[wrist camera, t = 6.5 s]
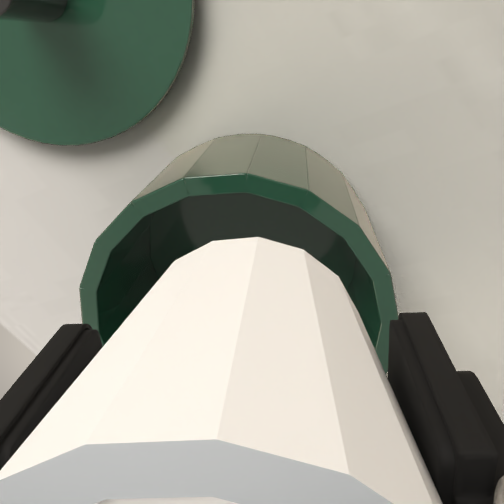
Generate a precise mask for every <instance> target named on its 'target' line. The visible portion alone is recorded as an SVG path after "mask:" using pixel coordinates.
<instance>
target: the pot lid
mask: <svg viewBox="0 0 504 504" xmlns="http://www.w3.org/2000/svg"><path fill="white" fill-rule="evenodd" d="M193 20H194V0H0V127H1V128H3V129H5V130H7V131H9V132H11V133H13V134H16V135H18V136H21V137H24V138H26V139H29V140H33V141H37V142H41V143H46V144H54V145H83V144H89V143H96V142H99V141H102V140H105V139H109V138H112V137H114V136H116V135H118V134H120V133H122V132H124V131H126V130H128V129H130V128H131V127H133V126H134V125H136V124H137V123H139V122H140V121H142V120H143V119H144V118H145V117H146V116H147V115H149V114H150V113H151V112H152V111H153V110H154V109H155V108H156V107H157V106H158V104H159V103H160V102H161V101H162V100H163V98H164V97H165V96H166V95H167V93H168V92H169V90H170V88H171V87H172V85H173V83H174V82H175V80H176V78H177V76H178V74H179V72H180V69H181V67H182V65H183V62H184V60H185V57H186V53H187V50H188V46H189V43H190V38H191V32H192V26H193Z"/></svg>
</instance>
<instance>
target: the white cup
mask: <svg viewBox="0 0 504 504" xmlns="http://www.w3.org/2000/svg"><path fill="white" fill-rule="evenodd" d="M0 504H443V503H442V501H441V499H440V496H439V494H438V492H437V490H436V487H435V485H434V483H433V480H432V478H431V476H430V474H429V471H428V469H427V467H426V465H425V462H424V460H423V458H422V456H421V453H420V451H419V449H418V446H417V444H416V442H415V440H414V437H413V435H412V433H411V431H410V428H409V426H408V424H407V422H406V419H405V417H404V415H403V412H402V410H401V408H400V406H399V403H398V401H397V399H396V397H395V394H394V392H393V390H392V387H391V385H390V383H389V381H388V378H387V376H386V374H385V372H384V369H383V367H382V365H381V363H380V360H379V358H378V356H377V353H376V351H375V349H374V347H373V344H372V342H371V340H370V338H369V335H368V333H367V331H366V329H365V326H364V324H363V322H362V319H361V317H360V315H359V313H358V311H357V309H356V307H355V305H354V303H353V302H352V300H351V298H350V296H349V294H348V293H347V291H346V289H345V287H344V285H343V283H342V282H341V280H340V278H339V276H337V275H336V274H335V273H334V272H332V271H331V270H330V269H328V268H327V267H326V266H324V265H323V264H322V263H320V262H319V261H318V260H316V259H315V258H314V257H313V256H311V255H310V254H309V253H307V252H306V251H305V250H303V249H300V248H296V247H293V246H289V245H286V244H282V243H279V242H275V241H271V240H268V239H264V238H261V237H251V238H240V239H229V240H218V241H212V242H210V243H208V244H206V245H204V246H202V247H200V248H198V249H196V250H194V251H192V252H190V253H188V254H186V255H184V256H183V257H181V258H179V259H177V260H175V261H174V262H173V263H172V264H171V265H170V267H169V268H168V269H167V270H166V272H165V273H164V274H163V275H162V276H161V278H160V279H159V280H158V281H157V282H156V284H155V285H154V286H153V287H152V288H151V290H150V291H149V292H148V293H147V294H146V296H145V297H144V298H143V299H142V300H141V302H140V303H139V304H138V305H137V306H136V308H135V309H134V310H133V311H132V312H131V314H130V315H129V316H128V317H127V319H126V320H125V321H124V322H123V323H122V325H121V326H120V327H119V328H118V329H117V331H116V332H115V333H114V334H113V335H112V337H111V338H110V339H109V340H108V341H107V343H106V344H105V345H104V346H103V347H102V349H101V350H100V351H99V352H98V353H97V355H96V356H95V357H94V358H93V359H92V361H91V362H90V363H89V364H88V365H87V367H86V368H85V369H84V370H83V372H82V373H81V374H80V375H79V376H78V378H77V379H76V380H75V381H74V382H73V384H72V385H71V386H70V387H69V388H68V390H67V391H66V392H65V393H64V394H63V396H62V397H61V398H60V399H59V400H58V402H57V403H56V404H55V405H54V406H53V408H52V409H51V410H50V411H49V412H48V414H47V415H46V416H45V417H44V418H43V420H42V421H41V422H40V423H39V425H38V426H37V427H36V428H35V429H34V431H33V432H32V433H31V434H30V435H29V437H28V438H27V439H26V440H25V441H24V443H23V444H22V445H21V446H20V447H19V449H18V450H17V451H16V452H15V453H14V455H13V456H12V457H11V458H10V459H9V461H8V462H7V463H6V464H5V465H4V467H3V468H2V469H1V470H0Z"/></svg>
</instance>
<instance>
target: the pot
mask: <svg viewBox="0 0 504 504" xmlns="http://www.w3.org/2000/svg"><path fill="white" fill-rule="evenodd" d="M251 237H261V238H264V239H268V240H271V241H275V242H279V243H282V244H286V245H289V246H293V247H296V248H300V249H303V250H305V251H306V252H307V253H309V254H310V255H311V256H313V257H314V258H315V259H316V260H318V261H319V262H320V263H322V264H323V265H324V266H326V267H327V268H328V269H330V270H331V271H332V272H334V273H335V274H336V275H337V276H339V278H340V280H341V282H342V283H343V285H344V287H345V289H346V291H347V293H348V294H349V296H350V298H351V300H352V302H353V303H354V305H355V307H356V309H357V311H358V313H359V315H360V317H361V319H362V322H363V324H364V326H365V329H366V331H367V333H368V335H369V338H370V340H371V342H372V344H373V347H374V349H375V351H376V353H377V356H378V358H379V360H380V363H381V365H382V367H383V369H384V372H385V374H386V373H387V372H388V355H389V326H390V320H398V317H399V316H398V310H397V305H396V299H395V294H394V288H393V283H392V277H391V273H390V270H389V268H388V265H387V263H386V260H385V258H384V255H383V253H382V250H381V248H380V245H379V243H378V240H377V238H376V235H375V233H374V230H373V228H372V225H371V223H370V220H369V218H368V215H367V213H366V210H365V208H364V206H363V204H362V203H361V201H360V200H359V198H358V197H357V195H356V193H355V192H354V190H353V188H352V187H351V185H350V184H349V183H348V181H347V180H346V178H345V177H344V175H343V173H342V172H341V171H339V170H338V169H337V168H335V167H334V166H333V165H332V164H331V163H330V162H328V161H327V160H326V159H325V158H323V157H322V156H321V155H319V154H318V153H316V152H314V151H312V150H311V149H309V148H308V147H306V146H304V145H301V144H298V143H296V142H293V141H291V140H288V139H284V138H280V137H276V136H271V135H264V134H238V135H231V136H224V137H218V138H215V139H213V140H210V141H208V142H205V143H203V144H201V145H199V146H196V147H194V148H193V149H191V150H189V151H188V152H186V153H183V154H181V155H179V156H178V157H177V158H176V159H175V160H173V161H172V162H171V163H170V164H169V165H168V166H167V167H166V168H165V169H164V170H163V171H162V172H161V173H160V174H159V175H158V176H157V177H156V178H155V179H154V180H153V181H152V182H151V183H150V184H149V185H148V186H147V187H146V188H145V189H144V190H143V191H141V192H140V193H139V194H138V195H137V196H136V197H135V198H134V199H133V200H132V201H131V202H130V203H129V204H128V205H127V206H126V208H125V209H124V210H123V211H122V212H121V213H120V214H119V215H118V216H117V217H116V218H115V219H114V221H113V222H112V223H111V224H110V225H109V226H108V227H107V228H106V229H105V230H104V231H103V233H102V234H101V235H100V236H99V237H98V238H97V239H96V241H95V242H94V245H93V248H92V251H91V254H90V257H89V260H88V263H87V266H86V269H85V272H84V275H83V278H82V281H81V284H80V288H79V290H80V302H81V314H82V324H89V325H90V326H91V327H92V329H96V330H97V331H98V332H99V334H100V338H101V342H102V346H104V345H105V344H106V343H107V341H108V340H109V339H110V338H111V337H112V335H113V334H114V333H115V332H116V331H117V329H118V328H119V327H120V326H121V325H122V323H123V322H124V321H125V320H126V319H127V317H128V316H129V315H130V314H131V312H132V311H133V310H134V309H135V308H136V306H137V305H138V304H139V303H140V302H141V300H142V299H143V298H144V297H145V296H146V294H147V293H148V292H149V291H150V290H151V288H152V287H153V286H154V285H155V284H156V282H157V281H158V280H159V279H160V278H161V276H162V275H163V274H164V273H165V272H166V270H167V269H168V268H169V267H170V265H171V264H172V263H173V262H174V261H175V260H177V259H179V258H181V257H183V256H184V255H186V254H188V253H190V252H192V251H194V250H196V249H198V248H200V247H202V246H204V245H206V244H208V243H210V242H212V241H218V240H229V239H240V238H251Z"/></svg>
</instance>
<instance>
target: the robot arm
mask: <svg viewBox="0 0 504 504" xmlns="http://www.w3.org/2000/svg"><path fill="white" fill-rule="evenodd" d="M102 347H103V346H102V342H101V338H100V334H99V332H98V331H97V330H96V329H92V327H91V326H90V325H89V324H65V325H63V326H61V327H60V329H59V330H58V331H57V332H56V333H55V335H54V336H53V337H52V338H51V339H50V341H49V342H48V343H47V344H46V346H45V347H44V348H43V349H42V350H41V352H40V353H39V354H38V355H37V356H36V358H35V359H34V360H33V361H32V363H31V364H30V365H29V366H28V367H27V369H26V370H25V371H24V372H23V373H22V375H21V376H20V377H19V378H18V379H17V381H16V382H15V383H14V384H13V385H12V387H11V388H10V389H9V391H7V393H6V394H5V395H4V396H3V398H2V399H1V400H0V470H1V469H2V468H3V467H4V465H5V464H6V463H7V462H8V461H9V459H10V458H11V457H12V456H13V455H14V453H15V452H16V451H17V450H18V449H19V447H20V446H21V445H22V444H23V443H24V441H25V440H26V439H27V438H28V437H29V435H30V434H31V433H32V432H33V431H34V429H35V428H36V427H37V426H38V425H39V423H40V422H41V421H42V420H43V418H44V417H45V416H46V415H47V414H48V412H49V411H50V410H51V409H52V408H53V406H54V405H55V404H56V403H57V402H58V400H59V399H60V398H61V397H62V396H63V394H64V393H65V392H66V391H67V390H68V388H69V387H70V386H71V385H72V384H73V382H74V381H75V380H76V379H77V378H78V376H79V375H80V374H81V373H82V372H83V370H84V369H85V368H86V367H87V365H88V364H89V363H90V362H91V361H92V359H93V358H94V357H95V356H96V355H97V353H98V352H99V351H100V350H101V349H102ZM388 381H389V383H390V385H391V387H392V390H393V392H394V394H395V397H396V399H397V401H398V403H399V406H400V408H401V410H402V412H403V415H404V417H405V419H406V422H407V424H408V426H409V428H410V431H411V433H412V435H413V437H414V440H415V442H416V444H417V446H418V449H419V451H420V453H421V456H422V458H423V460H424V462H425V465H426V467H427V469H428V471H429V474H430V476H431V478H432V480H433V483H434V485H435V487H436V490H437V492H438V494H439V496H440V499H441V501H442V503H443V504H504V424H503V422H502V421H501V419H500V417H499V415H498V414H497V412H496V410H495V408H494V406H493V405H492V403H491V401H490V399H489V398H488V396H487V394H486V392H485V390H484V389H483V387H482V385H481V383H480V381H479V380H478V378H477V377H476V375H475V374H474V373H473V372H471V371H456V370H455V368H454V366H453V364H452V362H451V360H450V358H449V356H448V354H447V352H446V350H445V348H444V346H443V344H442V342H441V340H440V338H439V336H438V334H437V332H436V330H435V328H434V326H433V324H432V322H431V320H430V318H429V316H428V315H427V313H425V312H419V313H400V314H399V317H398V320H390V326H389V355H388Z"/></svg>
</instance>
